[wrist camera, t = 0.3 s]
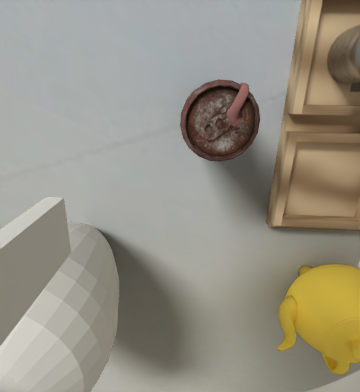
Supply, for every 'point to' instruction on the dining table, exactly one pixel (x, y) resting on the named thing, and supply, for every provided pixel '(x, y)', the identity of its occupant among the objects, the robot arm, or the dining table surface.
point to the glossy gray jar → (346, 58)
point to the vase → (67, 323)
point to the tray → (318, 129)
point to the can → (220, 120)
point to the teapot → (325, 313)
